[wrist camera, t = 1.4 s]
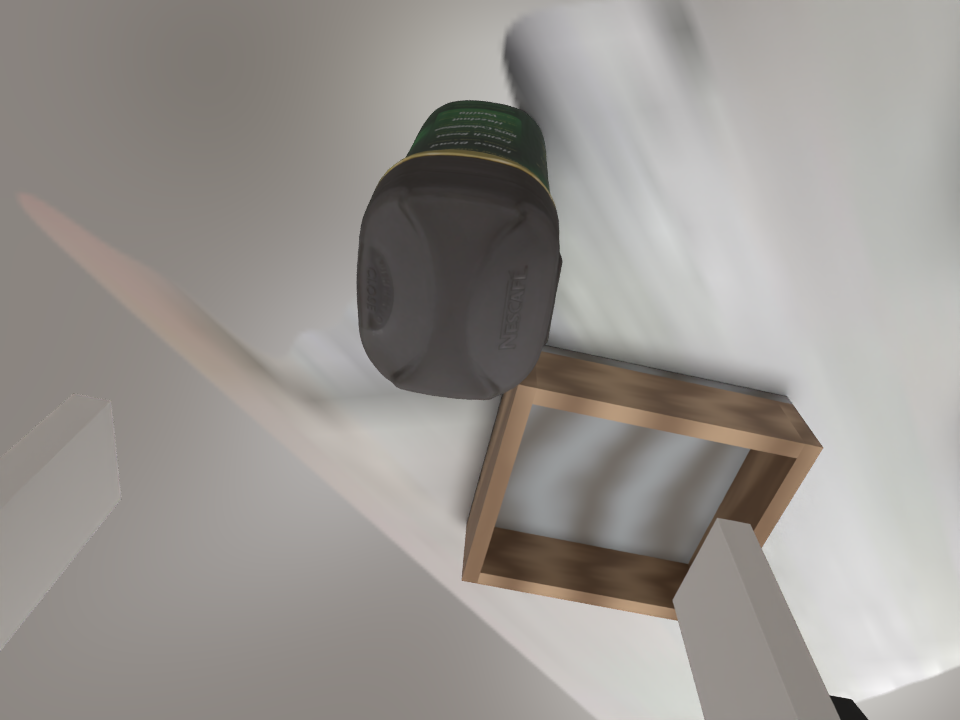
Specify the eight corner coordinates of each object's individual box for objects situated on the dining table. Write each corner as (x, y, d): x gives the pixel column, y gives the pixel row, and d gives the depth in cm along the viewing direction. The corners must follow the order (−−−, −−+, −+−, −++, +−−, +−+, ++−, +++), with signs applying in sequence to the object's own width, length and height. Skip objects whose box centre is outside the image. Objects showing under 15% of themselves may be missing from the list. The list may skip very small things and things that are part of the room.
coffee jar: (417, 90, 36) (340, 158, 20) (553, 106, 36) (587, 187, 20) (410, 250, 41) (342, 408, 25) (530, 263, 41) (541, 430, 25)
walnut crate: (787, 396, 45) (823, 447, 40) (693, 567, 54) (712, 627, 49) (517, 339, 44) (518, 384, 38) (466, 523, 52) (461, 580, 47)
